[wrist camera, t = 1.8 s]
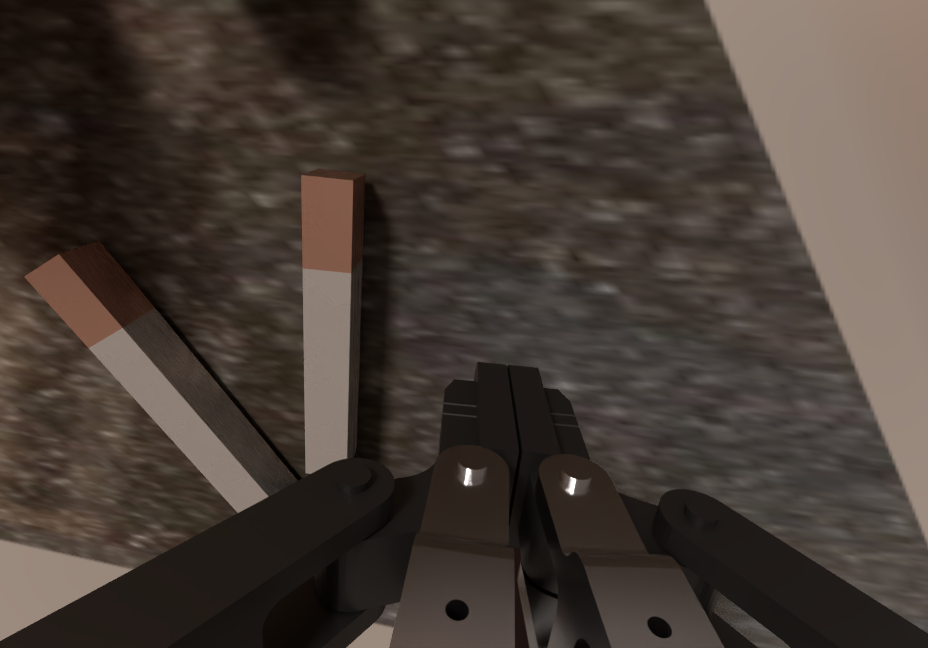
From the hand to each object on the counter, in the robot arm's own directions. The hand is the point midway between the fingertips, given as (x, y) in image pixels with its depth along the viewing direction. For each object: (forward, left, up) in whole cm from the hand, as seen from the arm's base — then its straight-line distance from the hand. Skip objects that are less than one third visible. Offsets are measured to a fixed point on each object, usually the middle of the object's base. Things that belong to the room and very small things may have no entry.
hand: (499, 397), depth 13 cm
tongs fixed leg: (-2, +17, -17) cm, 24 cm away
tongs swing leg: (-2, +11, -17) cm, 20 cm away
